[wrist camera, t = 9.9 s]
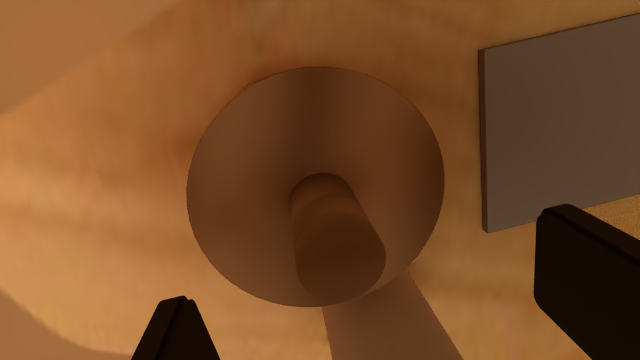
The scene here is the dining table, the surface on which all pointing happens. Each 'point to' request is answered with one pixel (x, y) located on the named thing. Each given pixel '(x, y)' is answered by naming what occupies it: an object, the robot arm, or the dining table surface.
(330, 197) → the lid
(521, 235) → the dining table surface
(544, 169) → the mat
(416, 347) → the beverage can
